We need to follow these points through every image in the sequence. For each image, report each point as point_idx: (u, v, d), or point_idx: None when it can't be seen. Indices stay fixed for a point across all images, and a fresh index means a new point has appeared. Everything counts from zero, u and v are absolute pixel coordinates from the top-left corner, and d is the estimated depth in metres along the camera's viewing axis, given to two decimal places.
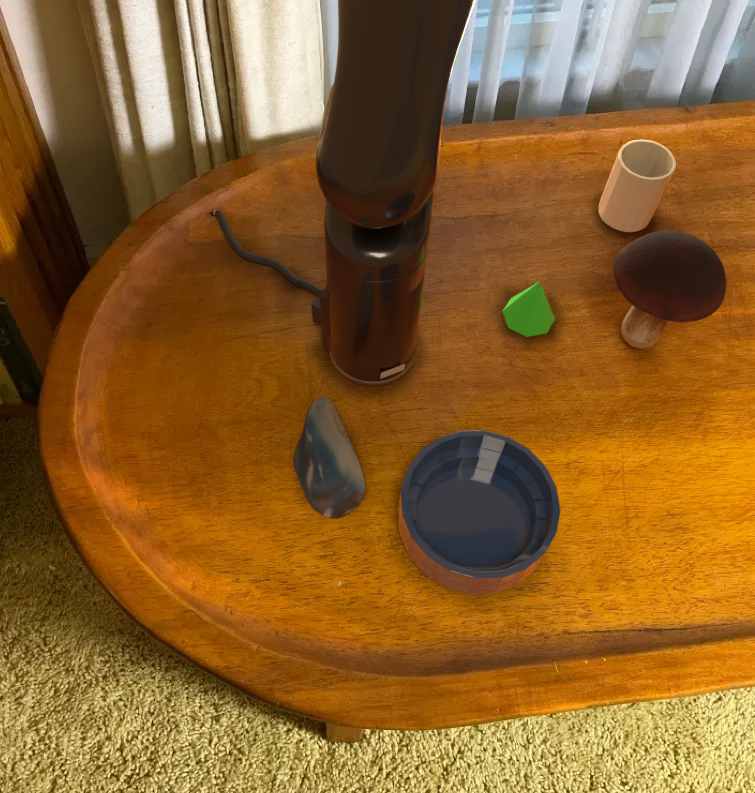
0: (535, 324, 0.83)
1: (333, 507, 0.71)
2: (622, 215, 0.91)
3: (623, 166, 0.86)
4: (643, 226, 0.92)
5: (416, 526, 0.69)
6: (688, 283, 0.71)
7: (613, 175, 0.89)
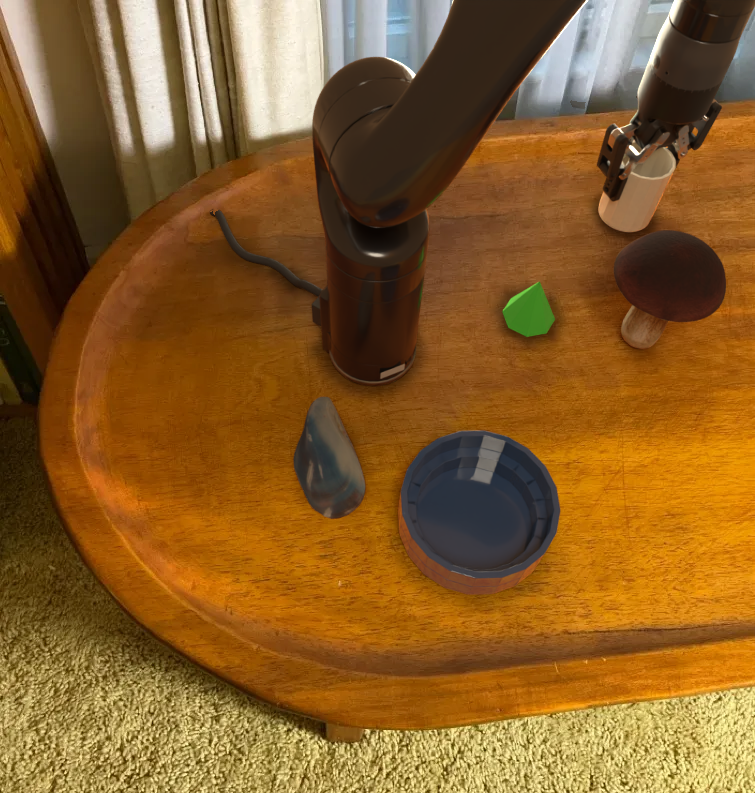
0: (535, 324, 0.83)
1: (333, 507, 0.71)
2: (622, 215, 0.91)
3: None
4: (643, 226, 0.92)
5: (416, 526, 0.69)
6: (688, 283, 0.71)
7: None
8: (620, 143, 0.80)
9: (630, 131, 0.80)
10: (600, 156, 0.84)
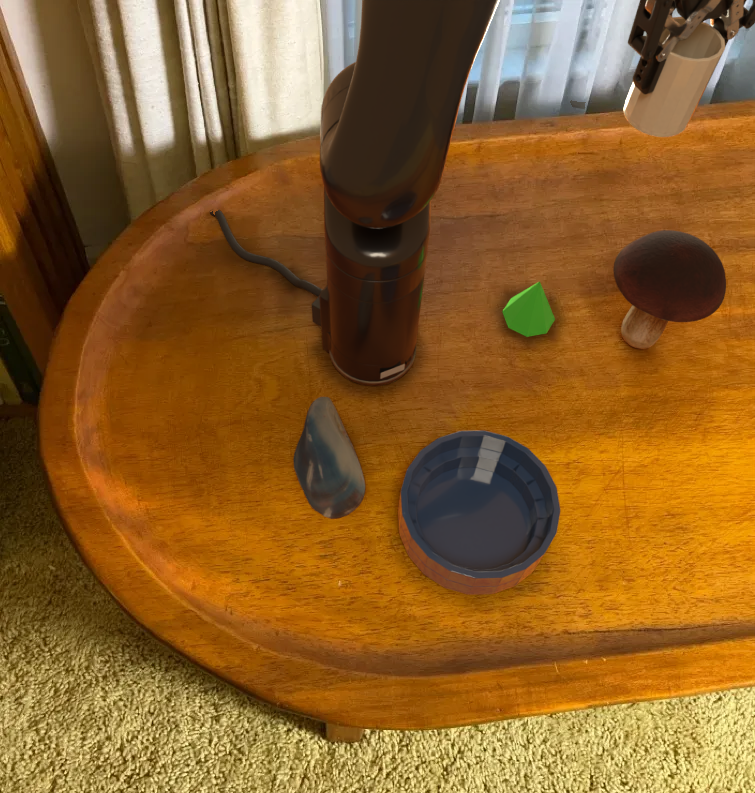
0: (535, 324, 0.83)
1: (333, 507, 0.71)
2: (655, 114, 0.73)
3: None
4: (680, 130, 0.75)
5: (416, 526, 0.69)
6: (688, 283, 0.71)
7: None
8: (662, 4, 0.62)
9: None
10: (633, 28, 0.66)
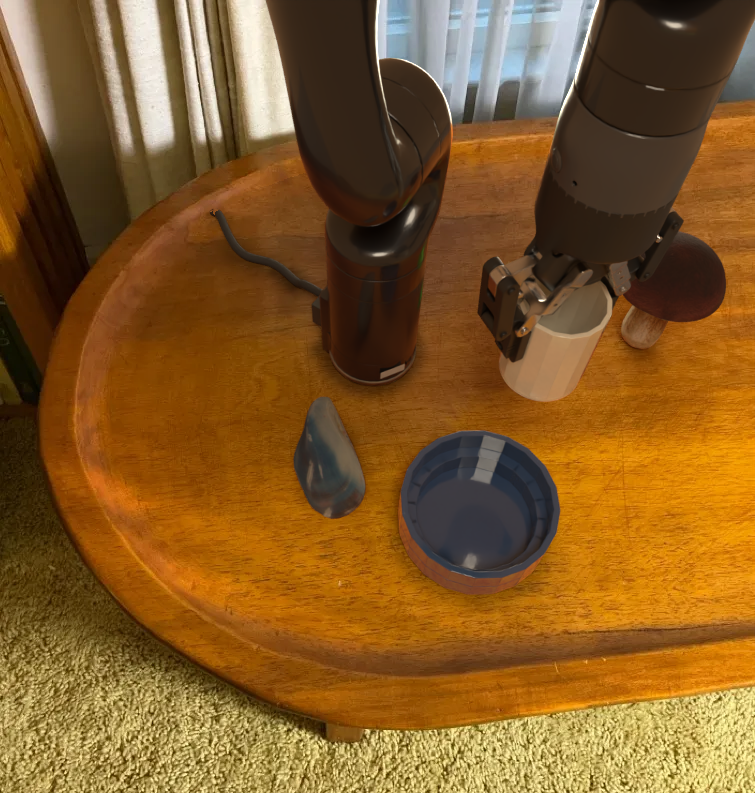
0: None
1: (333, 507, 0.71)
2: (531, 381, 0.56)
3: None
4: (567, 393, 0.58)
5: (416, 526, 0.69)
6: (688, 283, 0.71)
7: None
8: (505, 293, 0.46)
9: (523, 271, 0.46)
10: (480, 303, 0.50)
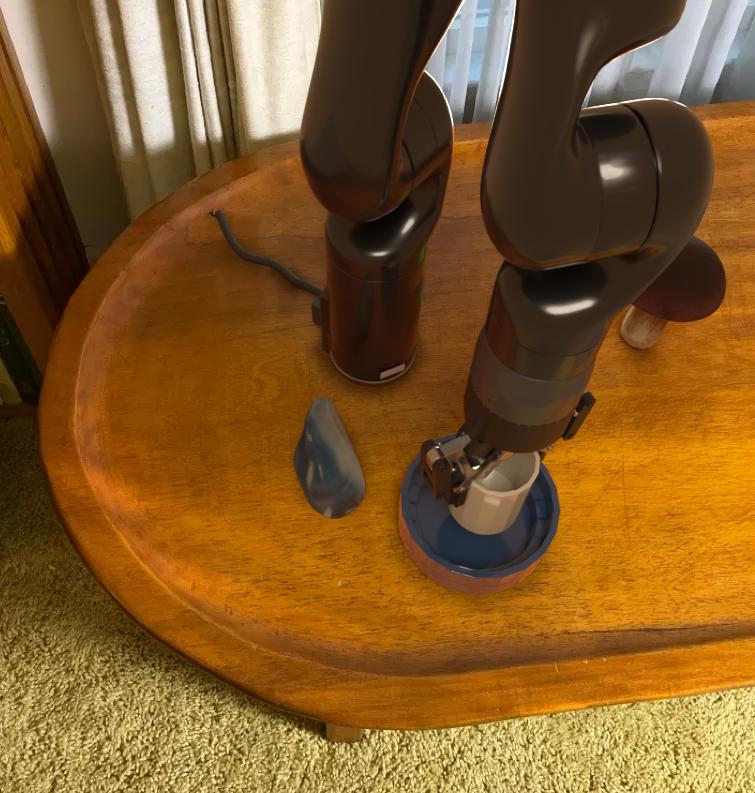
0: None
1: (333, 507, 0.71)
2: (472, 521, 0.64)
3: (463, 472, 0.60)
4: (507, 527, 0.66)
5: (416, 526, 0.69)
6: (688, 283, 0.71)
7: None
8: (438, 472, 0.54)
9: (454, 452, 0.54)
10: (422, 468, 0.58)
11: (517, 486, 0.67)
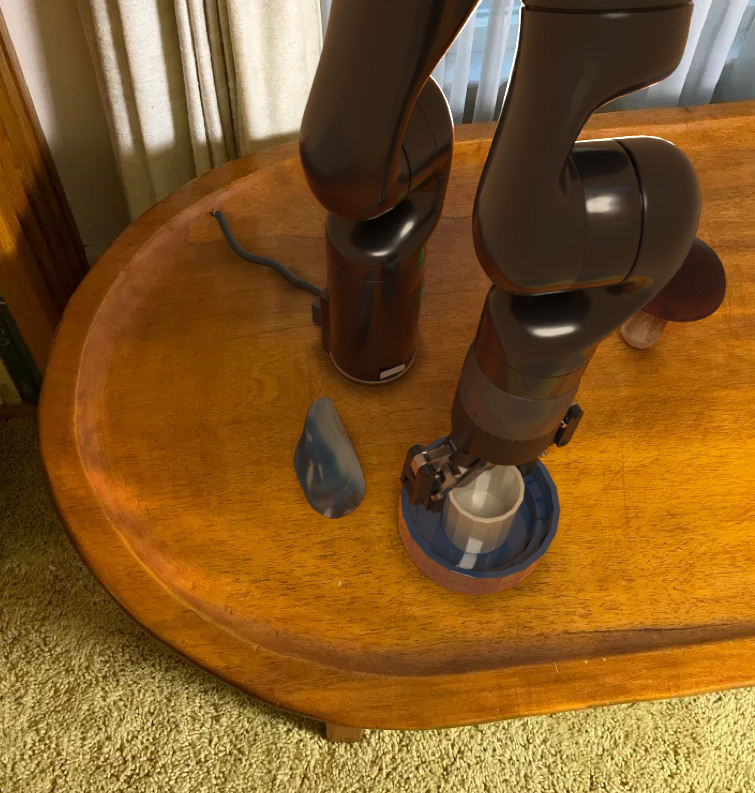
0: None
1: (333, 507, 0.71)
2: (464, 542, 0.69)
3: (452, 500, 0.64)
4: (497, 546, 0.70)
5: (416, 526, 0.69)
6: (688, 283, 0.71)
7: (446, 499, 0.67)
8: (424, 477, 0.54)
9: (441, 459, 0.55)
10: (403, 473, 0.58)
11: (507, 507, 0.71)
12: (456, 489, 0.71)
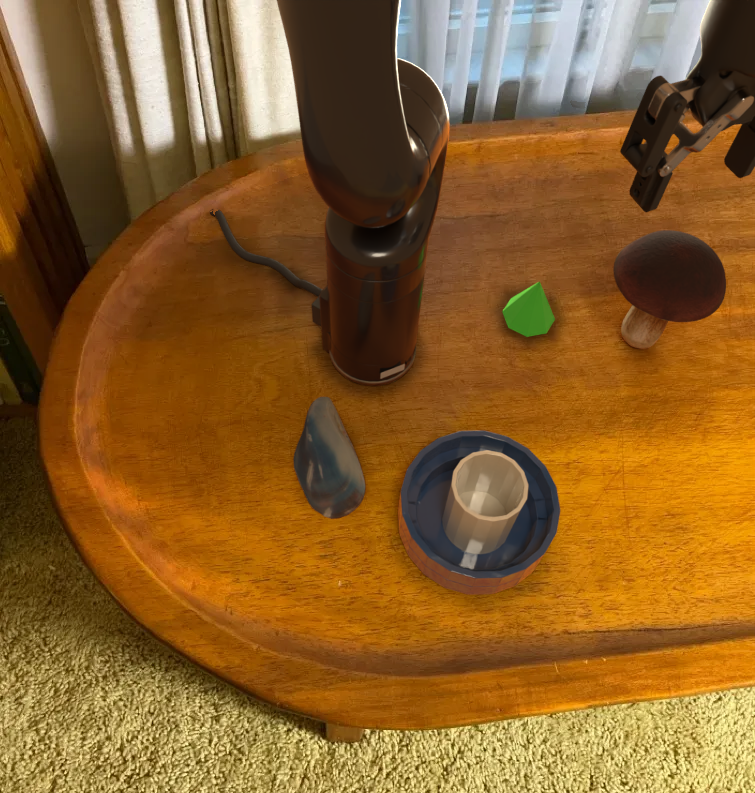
0: (535, 324, 0.83)
1: (333, 507, 0.71)
2: (465, 542, 0.69)
3: (457, 498, 0.64)
4: (497, 547, 0.70)
5: (416, 526, 0.69)
6: (688, 283, 0.71)
7: (449, 498, 0.67)
8: (672, 108, 0.46)
9: (689, 90, 0.46)
10: (629, 134, 0.50)
11: (507, 508, 0.71)
12: (457, 489, 0.71)
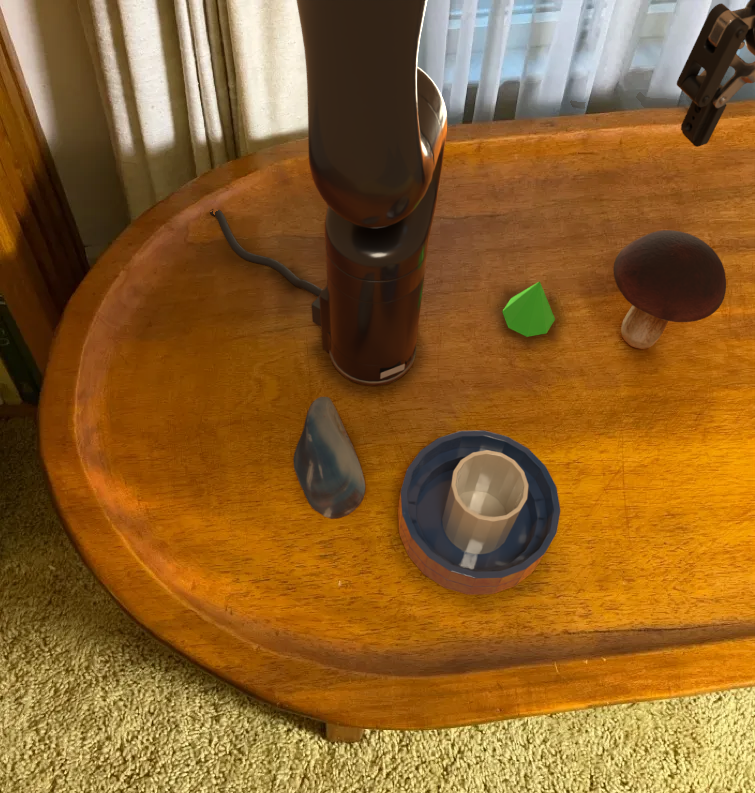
0: (535, 324, 0.83)
1: (333, 507, 0.71)
2: (465, 542, 0.69)
3: (457, 498, 0.64)
4: (497, 547, 0.70)
5: (416, 526, 0.69)
6: (688, 283, 0.71)
7: (449, 498, 0.67)
8: (735, 34, 0.47)
9: (750, 17, 0.48)
10: (687, 65, 0.51)
11: (507, 508, 0.71)
12: (457, 489, 0.71)
